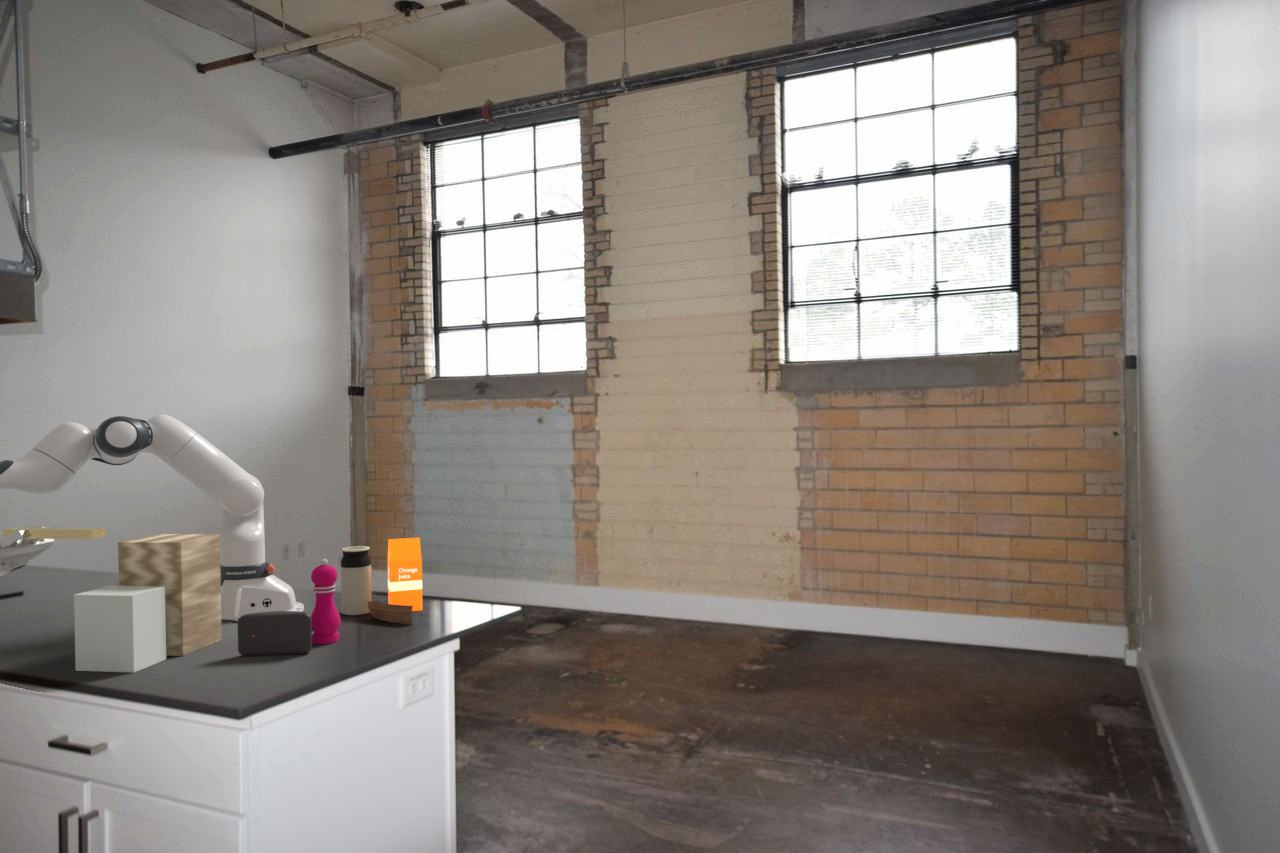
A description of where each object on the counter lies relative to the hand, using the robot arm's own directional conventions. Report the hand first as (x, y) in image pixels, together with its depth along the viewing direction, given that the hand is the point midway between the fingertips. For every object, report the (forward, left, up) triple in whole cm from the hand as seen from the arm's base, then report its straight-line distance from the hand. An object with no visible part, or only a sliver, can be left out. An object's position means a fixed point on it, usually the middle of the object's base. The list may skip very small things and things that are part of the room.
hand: (33, 530), depth 192 cm
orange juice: (-83, -20, -30) cm, 90 cm away
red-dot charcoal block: (-50, +16, -30) cm, 60 cm away
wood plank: (-78, -6, -30) cm, 83 cm away
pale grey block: (-18, +11, -30) cm, 36 cm away
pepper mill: (-61, +8, -30) cm, 68 cm away
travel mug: (-70, -21, -30) cm, 79 cm away
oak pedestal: (-27, -2, -30) cm, 40 cm away
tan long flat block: (-5, +3, -1) cm, 5 cm away
